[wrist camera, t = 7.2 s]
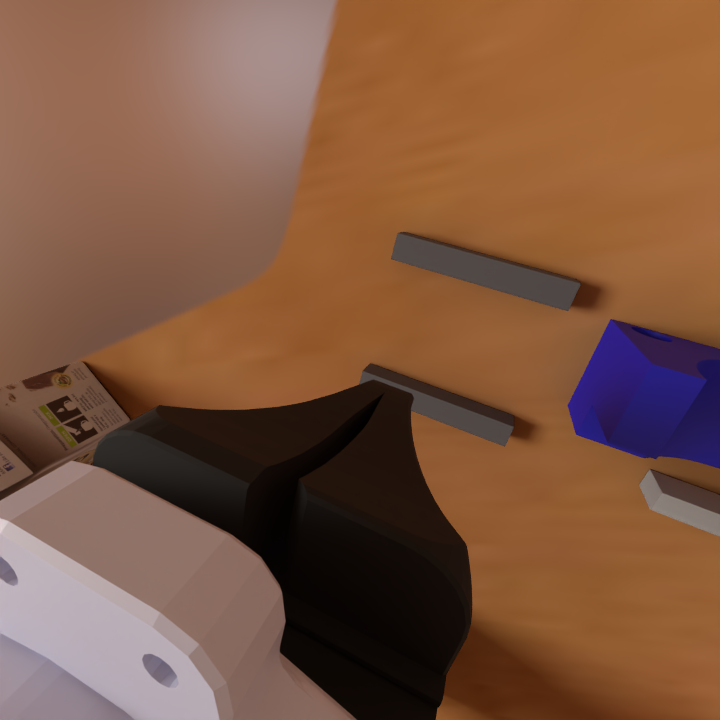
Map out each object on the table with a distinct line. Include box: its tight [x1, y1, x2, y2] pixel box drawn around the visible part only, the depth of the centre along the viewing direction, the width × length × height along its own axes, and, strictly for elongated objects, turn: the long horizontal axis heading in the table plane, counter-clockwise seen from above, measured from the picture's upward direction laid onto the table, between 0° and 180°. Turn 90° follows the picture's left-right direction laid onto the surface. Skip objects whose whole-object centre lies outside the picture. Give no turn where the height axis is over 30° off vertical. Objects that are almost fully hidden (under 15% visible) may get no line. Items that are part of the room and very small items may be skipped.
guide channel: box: [360, 232, 581, 446], centre depth 19 cm, size 8×8×1 cm
